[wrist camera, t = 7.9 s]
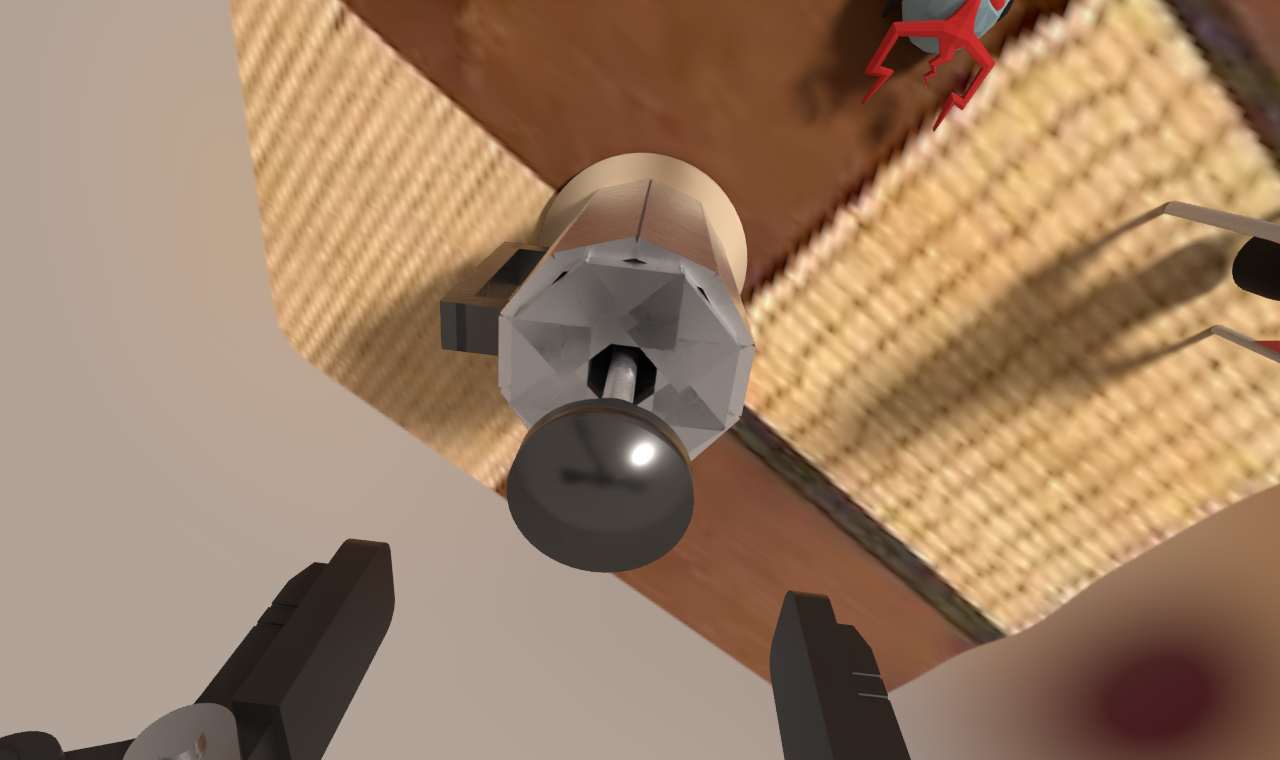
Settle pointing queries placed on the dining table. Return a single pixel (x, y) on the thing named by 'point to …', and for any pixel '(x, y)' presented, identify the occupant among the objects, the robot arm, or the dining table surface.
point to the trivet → (651, 167)
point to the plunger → (603, 479)
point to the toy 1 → (941, 38)
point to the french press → (614, 313)
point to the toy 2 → (1245, 264)
